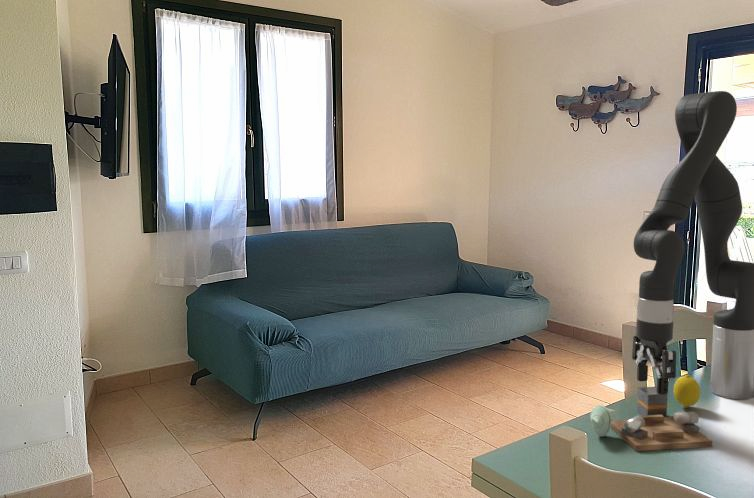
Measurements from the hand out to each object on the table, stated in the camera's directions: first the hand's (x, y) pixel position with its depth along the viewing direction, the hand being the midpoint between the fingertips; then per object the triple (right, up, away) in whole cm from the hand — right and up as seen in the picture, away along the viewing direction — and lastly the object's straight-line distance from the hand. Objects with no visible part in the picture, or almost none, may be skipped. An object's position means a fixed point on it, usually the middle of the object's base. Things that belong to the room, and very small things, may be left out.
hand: (651, 387), depth 134 cm
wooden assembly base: (-3, -8, -9) cm, 12 cm away
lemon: (+10, -6, +5) cm, 13 cm away
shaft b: (-9, -8, -11) cm, 16 cm away
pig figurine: (-15, -9, -8) cm, 19 cm away
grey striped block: (+1, -7, +1) cm, 7 cm away
